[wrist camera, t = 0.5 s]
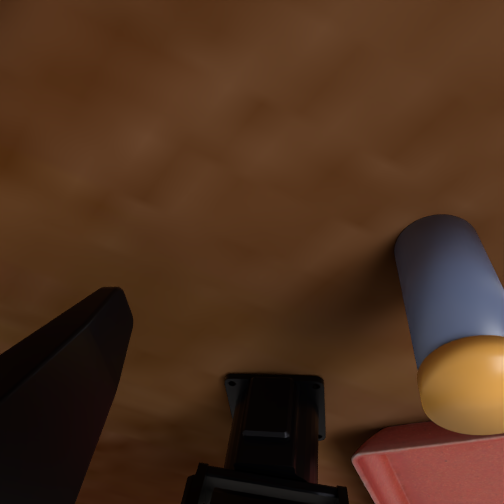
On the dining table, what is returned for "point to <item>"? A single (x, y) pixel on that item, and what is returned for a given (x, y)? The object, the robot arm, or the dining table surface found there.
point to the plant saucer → (431, 466)
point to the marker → (454, 323)
